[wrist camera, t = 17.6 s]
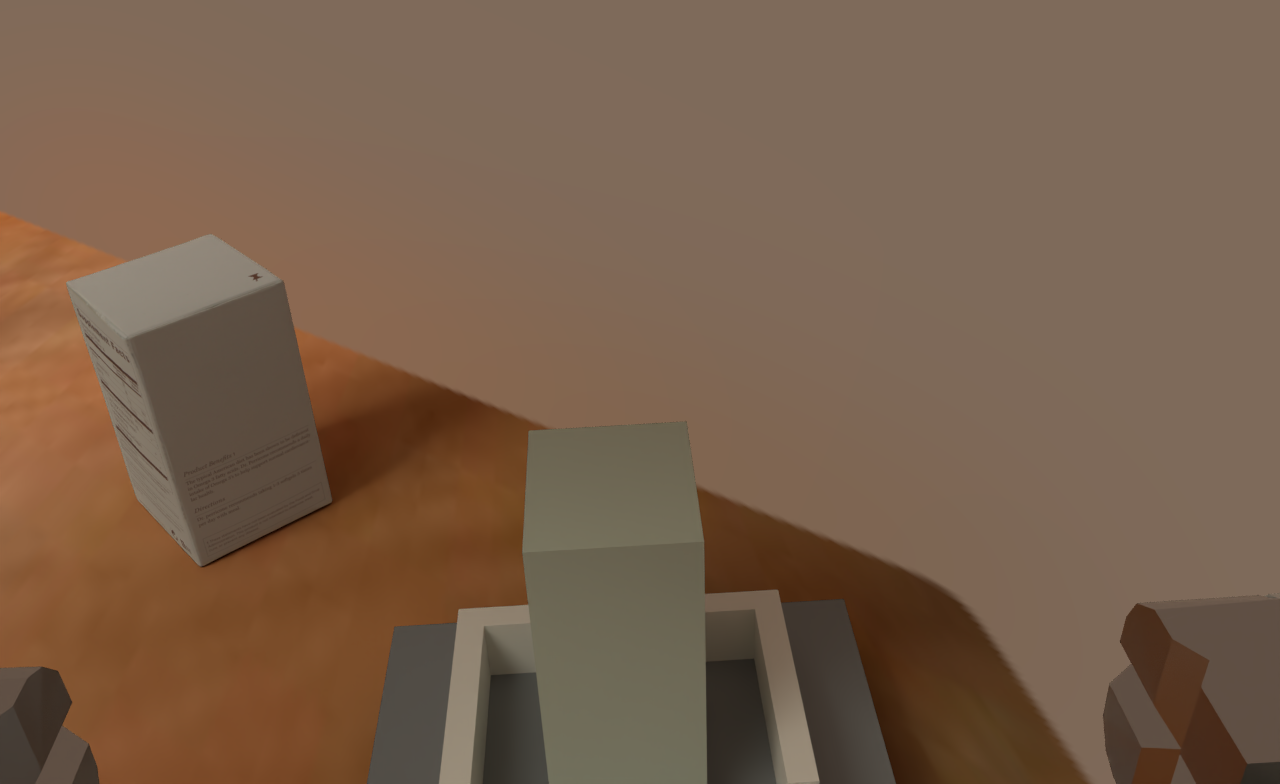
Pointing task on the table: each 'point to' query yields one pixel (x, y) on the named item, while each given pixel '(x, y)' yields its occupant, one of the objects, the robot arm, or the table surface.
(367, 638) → the table surface
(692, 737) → the pale green footed pillar
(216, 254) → the supplement box
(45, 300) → the table surface
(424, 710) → the dock
